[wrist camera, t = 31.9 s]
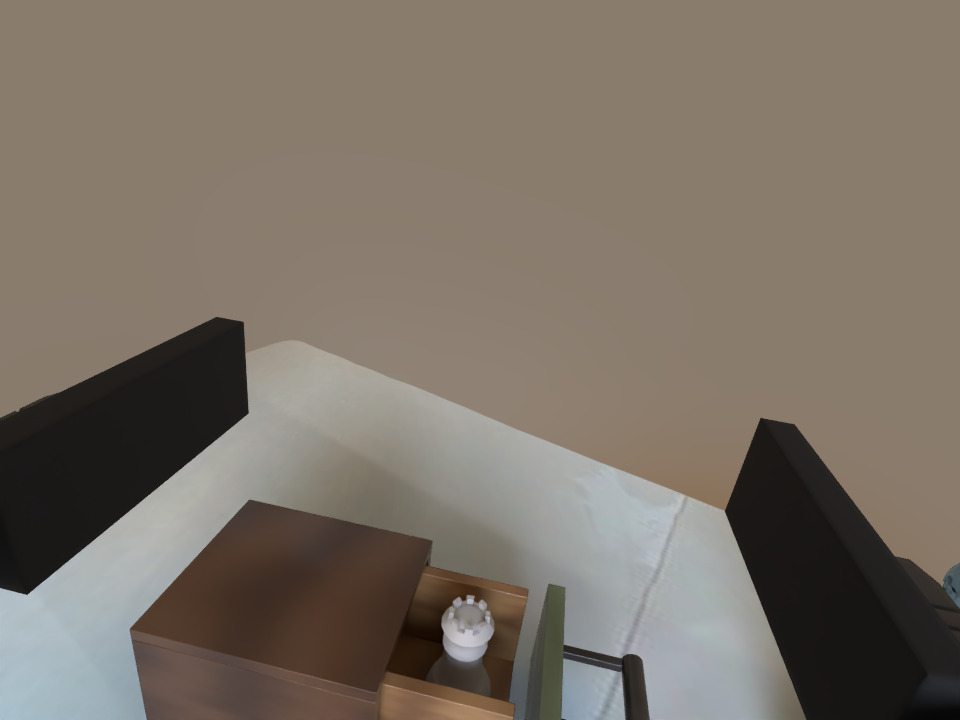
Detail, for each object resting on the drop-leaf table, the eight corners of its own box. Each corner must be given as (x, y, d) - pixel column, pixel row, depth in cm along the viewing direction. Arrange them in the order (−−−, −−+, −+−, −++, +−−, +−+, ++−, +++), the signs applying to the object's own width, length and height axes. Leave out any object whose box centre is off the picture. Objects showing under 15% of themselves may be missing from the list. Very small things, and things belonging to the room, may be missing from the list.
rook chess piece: (494, 678, 37) (511, 593, 34) (481, 744, 33) (499, 654, 30) (433, 660, 38) (444, 575, 35) (412, 722, 34) (423, 632, 30)
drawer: (623, 681, 39) (649, 606, 36) (637, 853, 30) (673, 770, 27) (380, 621, 41) (385, 545, 38) (320, 764, 32) (321, 678, 29)
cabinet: (422, 633, 42) (432, 540, 38) (368, 799, 31) (376, 693, 28) (254, 592, 43) (249, 499, 40) (149, 737, 33) (129, 629, 29)
